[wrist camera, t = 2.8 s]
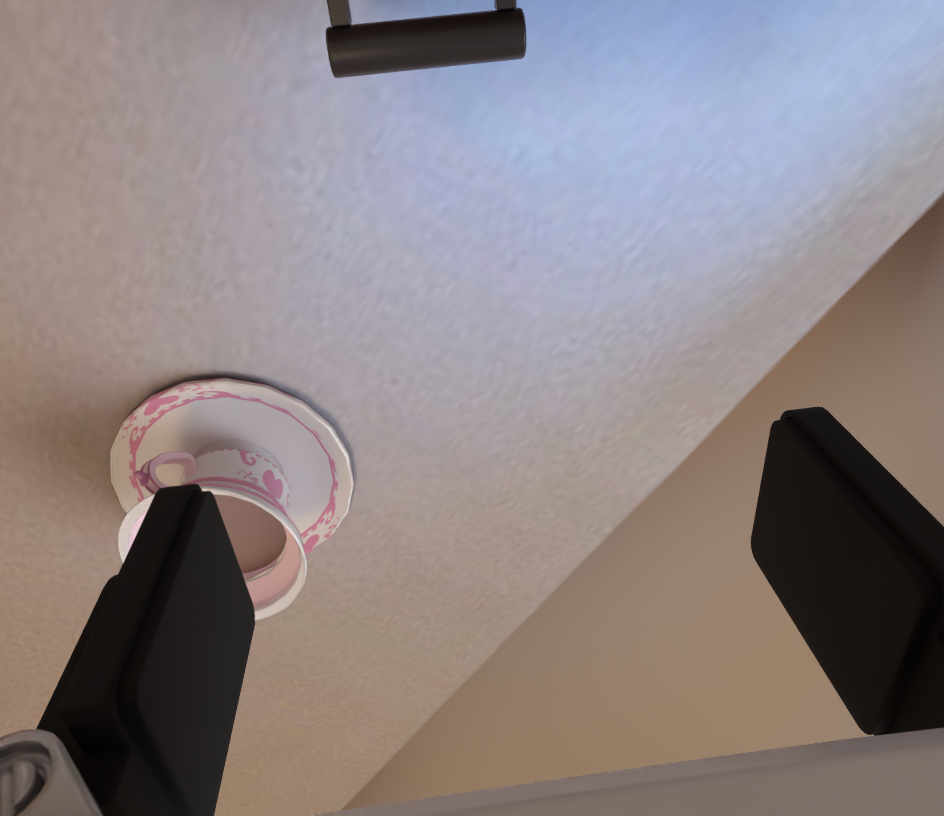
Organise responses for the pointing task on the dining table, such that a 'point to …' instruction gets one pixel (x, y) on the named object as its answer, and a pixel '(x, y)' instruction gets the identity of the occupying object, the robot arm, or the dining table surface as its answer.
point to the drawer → (423, 40)
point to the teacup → (239, 475)
